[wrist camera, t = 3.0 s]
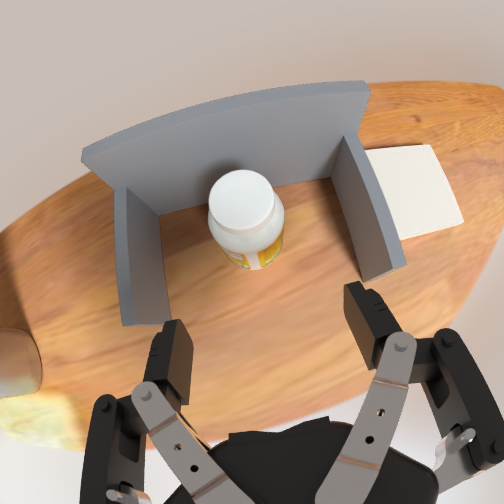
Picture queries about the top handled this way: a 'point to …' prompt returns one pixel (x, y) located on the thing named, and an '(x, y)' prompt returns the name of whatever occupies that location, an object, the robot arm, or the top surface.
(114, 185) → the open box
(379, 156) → the mat
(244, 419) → the top surface
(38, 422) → the top surface
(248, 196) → the supplement bottle
